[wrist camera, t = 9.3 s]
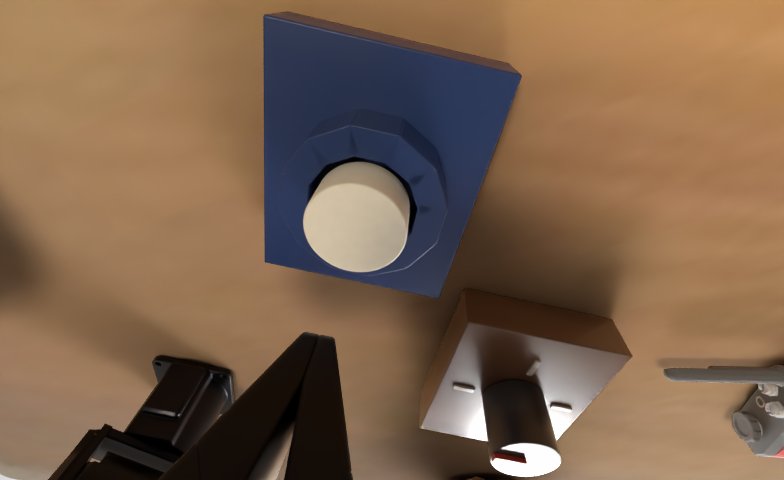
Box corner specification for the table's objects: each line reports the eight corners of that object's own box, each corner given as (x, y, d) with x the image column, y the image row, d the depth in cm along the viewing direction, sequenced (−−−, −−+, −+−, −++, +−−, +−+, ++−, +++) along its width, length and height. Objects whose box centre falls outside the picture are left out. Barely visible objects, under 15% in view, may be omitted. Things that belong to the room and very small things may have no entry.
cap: (399, 252, 17) (395, 281, 15) (313, 234, 17) (299, 261, 15) (419, 173, 14) (418, 197, 13) (320, 151, 14) (305, 172, 13)
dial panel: (536, 416, 31) (546, 455, 28) (420, 392, 30) (419, 430, 28) (612, 318, 24) (634, 358, 21) (464, 287, 24) (468, 324, 21)
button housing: (438, 269, 23) (439, 330, 19) (280, 235, 22) (246, 290, 18) (510, 63, 16) (537, 87, 12) (286, 11, 16) (234, 17, 12)
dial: (554, 386, 23) (575, 456, 20) (529, 419, 26) (545, 487, 22) (493, 374, 23) (504, 442, 20) (474, 408, 26) (481, 475, 22)
